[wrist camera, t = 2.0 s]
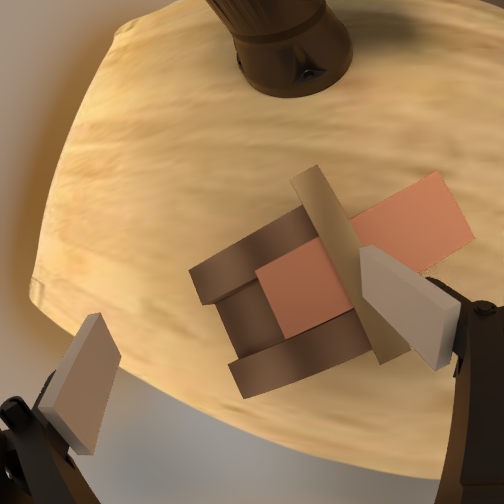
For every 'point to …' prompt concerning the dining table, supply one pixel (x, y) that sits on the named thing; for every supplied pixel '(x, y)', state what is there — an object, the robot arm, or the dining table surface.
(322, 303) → the peg
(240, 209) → the dining table surface
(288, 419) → the dining table surface
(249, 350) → the guide block
